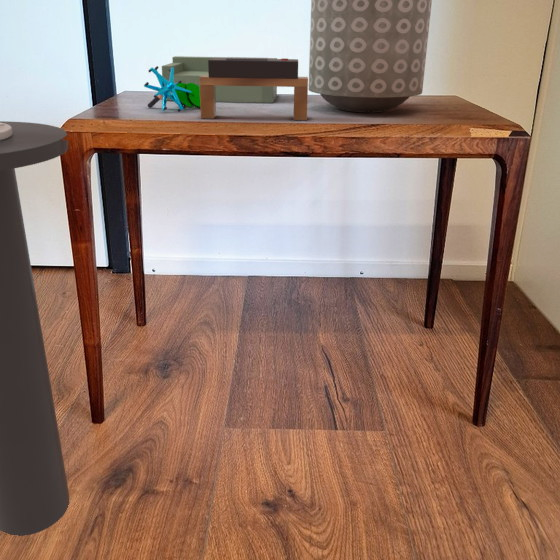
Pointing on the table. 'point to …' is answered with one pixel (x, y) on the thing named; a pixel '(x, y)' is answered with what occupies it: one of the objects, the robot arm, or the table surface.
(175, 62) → the sofa
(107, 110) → the table surface
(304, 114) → the wooden bench stand
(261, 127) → the table surface
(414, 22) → the planter
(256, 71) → the bar
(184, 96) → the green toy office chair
